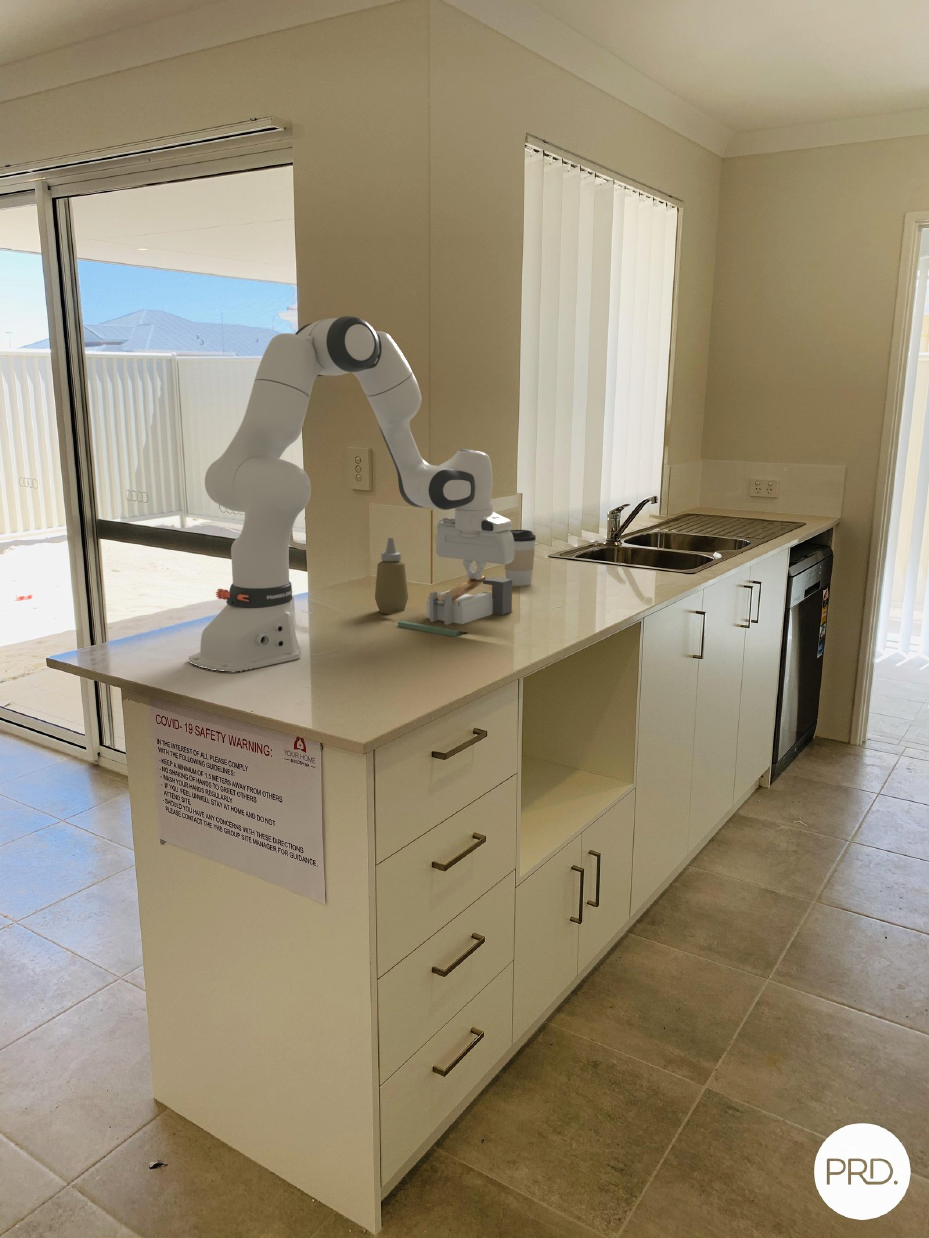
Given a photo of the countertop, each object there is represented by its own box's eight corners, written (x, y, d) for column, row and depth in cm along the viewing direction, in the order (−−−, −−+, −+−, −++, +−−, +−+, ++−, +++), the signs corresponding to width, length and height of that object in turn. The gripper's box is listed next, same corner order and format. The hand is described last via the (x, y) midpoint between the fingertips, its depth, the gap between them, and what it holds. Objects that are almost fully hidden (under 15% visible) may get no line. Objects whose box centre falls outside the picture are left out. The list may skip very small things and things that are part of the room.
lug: (502, 615, 219) (503, 582, 217) (482, 611, 222) (482, 579, 220) (511, 612, 222) (512, 579, 220) (491, 608, 225) (492, 576, 223)
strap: (444, 607, 210) (443, 601, 209) (434, 605, 211) (434, 599, 211) (485, 581, 222) (485, 576, 222) (476, 580, 224) (476, 574, 223)
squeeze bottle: (368, 613, 224) (366, 538, 220) (386, 607, 231) (385, 534, 227) (397, 617, 220) (396, 541, 216) (414, 610, 227) (414, 536, 223)
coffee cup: (496, 581, 263) (497, 528, 259) (525, 579, 266) (526, 526, 263) (511, 587, 255) (512, 533, 251) (540, 585, 258) (542, 531, 255)
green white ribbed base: (455, 636, 203) (455, 602, 201) (397, 626, 212) (397, 593, 210) (518, 614, 224) (519, 583, 222) (464, 605, 233) (464, 575, 231)
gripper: (429, 518, 220) (431, 576, 224) (503, 525, 209) (503, 586, 212) (445, 515, 225) (446, 572, 229) (518, 522, 214) (518, 581, 217)
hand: (474, 579), depth 220 cm, fingers closed, pressing on strap
